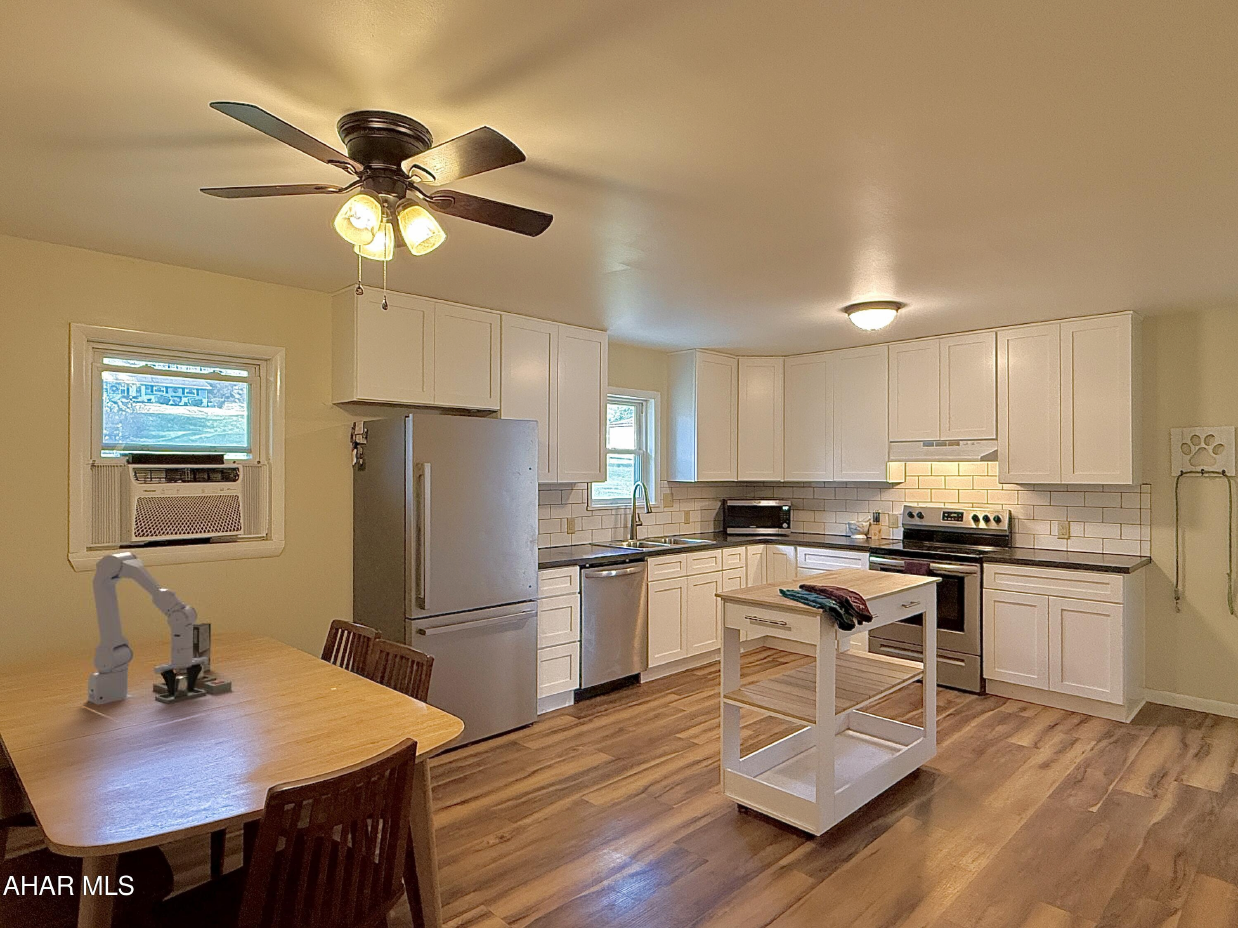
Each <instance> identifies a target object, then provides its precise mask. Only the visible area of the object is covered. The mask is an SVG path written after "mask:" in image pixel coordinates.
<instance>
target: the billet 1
mask: <svg viewBox="0 0 1238 928" xmlns="http://www.w3.org/2000/svg"><path fill="white" fill-rule="evenodd" d="M184 696H188V676H187V675H178V676H176V680H175V694H174V699H176V698H180V697H184Z"/></svg>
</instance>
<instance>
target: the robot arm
mask: <svg viewBox="0 0 1238 928" xmlns="http://www.w3.org/2000/svg"><path fill="white" fill-rule="evenodd" d="M95 566H96V567H95V568H96V571H95V573H94V577H93V579H92V588H93V595H94V602H95V609H96V617H97V624H98V629H99V638H100V641H99V642H98V643H97V645H96V647H95V650H94V651H95V654H94V655H95V656H94V658H93V666H94V668H95V669H96V670H97V671H98V672H95V673H92V674H90V675H89V676H88V681H87V687H88V688H87V699H86V701H88V702H90V703H93V704H95V705H103V704H107V703H112V702H117V701H121V700H127V699H130V698H133V697H134V696H133V695H131V694H128V684H129V683H128V682H129V681H128V678H129V677H128V675H129V674H128V673H129V664H130V662H131V661H132V660H133V657H134V650H133V649H132V647H131V646H130V643H129V639H127V638H126V637H125V636H124V635H123V631H122V624H121V618H120V609H119V602H118V596H117V589H116V584H117V583H119V581H120V580H121V579H123V578H124V579H131V580H134V581H135V582H136V583H137V584H138V586H140V587H141V588H142V589H143V590H144V591H146V593H148V594H149V595H150V596H151V602H152V604H153V606H155V607H156V608H157V609H158V610H159V611H160V612H161V613H162V614H163V615H164V616H165V617H166V618H167V619H166V623H167V625H168V626H169V628H170V632H171V633H170V634H171V636H170V637H171V638H170V640H171V641H170V642H171V643H170V661H169V662H167V663H164V664H159V665H156V666H153V669H154V670H153V671H154V673H153V674H156V675H161V677H162V679H163V680H164V681H163V682H165V683H166V685H167V689H168V693H169V695H174V694H175V680H176V677H177V675H178V673H175V670H177V669H182V668H186V670H187V673H186V676H188V690H189V691H193V689H194V685H195V682H196V680H197V677H198V675H199V674H200V672H201V670H202V666H200V665H202V664H203V665H205V664H208V658H206V657H202V658H194V659H193V623H196V622H197V619H198V613H197V611H196V609H195V608H194V607H193V606H191V605H187V603H185V602H183V601H182V600H181V599H180V598H179V597H178V596H177V595H176V594H177V593H176V592H175V591H174V590H172V589H169V588H163V587H162V585H161V584H160V583H158V581H157V580H156V578H154V577H153V576H152V574H151V573H150V572H149V571H148V570H147V568H145V565H144V563H143V560H142V559H140V558H139V557H137V555H136V554H135V553H133V552H130V551H124V552H121V553H116V554H106V555H104V556H103V557H102V558H100V559H99V560H98V561H97V562H96V564H95Z"/></svg>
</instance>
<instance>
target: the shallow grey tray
mask: <svg viewBox="0 0 1238 928" xmlns="http://www.w3.org/2000/svg"><path fill="white" fill-rule="evenodd" d="M204 696H207V692H205V691H204V690H203V689H202V690H201V689H200V688H198V689H196V688H194V689H193V691H189V690H188V696H184V697H180V698H176V699H174V695H169V693H166V694H162V693H161V694H158V695H155V696H154V699H155V701H158V702H161V703H164V704H167V705H171V704H175V703H180V702H183V701H188V700H192V699H196V698H200V697H204Z"/></svg>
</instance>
